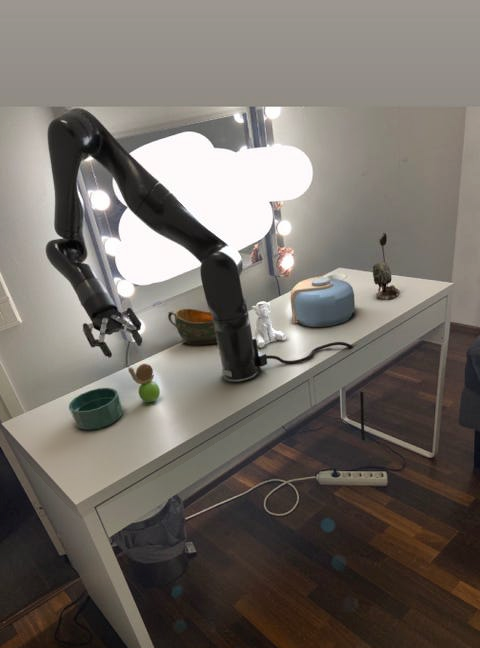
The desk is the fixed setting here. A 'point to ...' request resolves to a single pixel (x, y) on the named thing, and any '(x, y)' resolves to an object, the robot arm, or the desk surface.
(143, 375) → the snail figurine
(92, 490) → the desk surface
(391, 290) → the plant with pod
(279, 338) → the seated beast figurine
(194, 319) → the cup
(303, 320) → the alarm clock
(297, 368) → the desk surface
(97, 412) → the bowl
